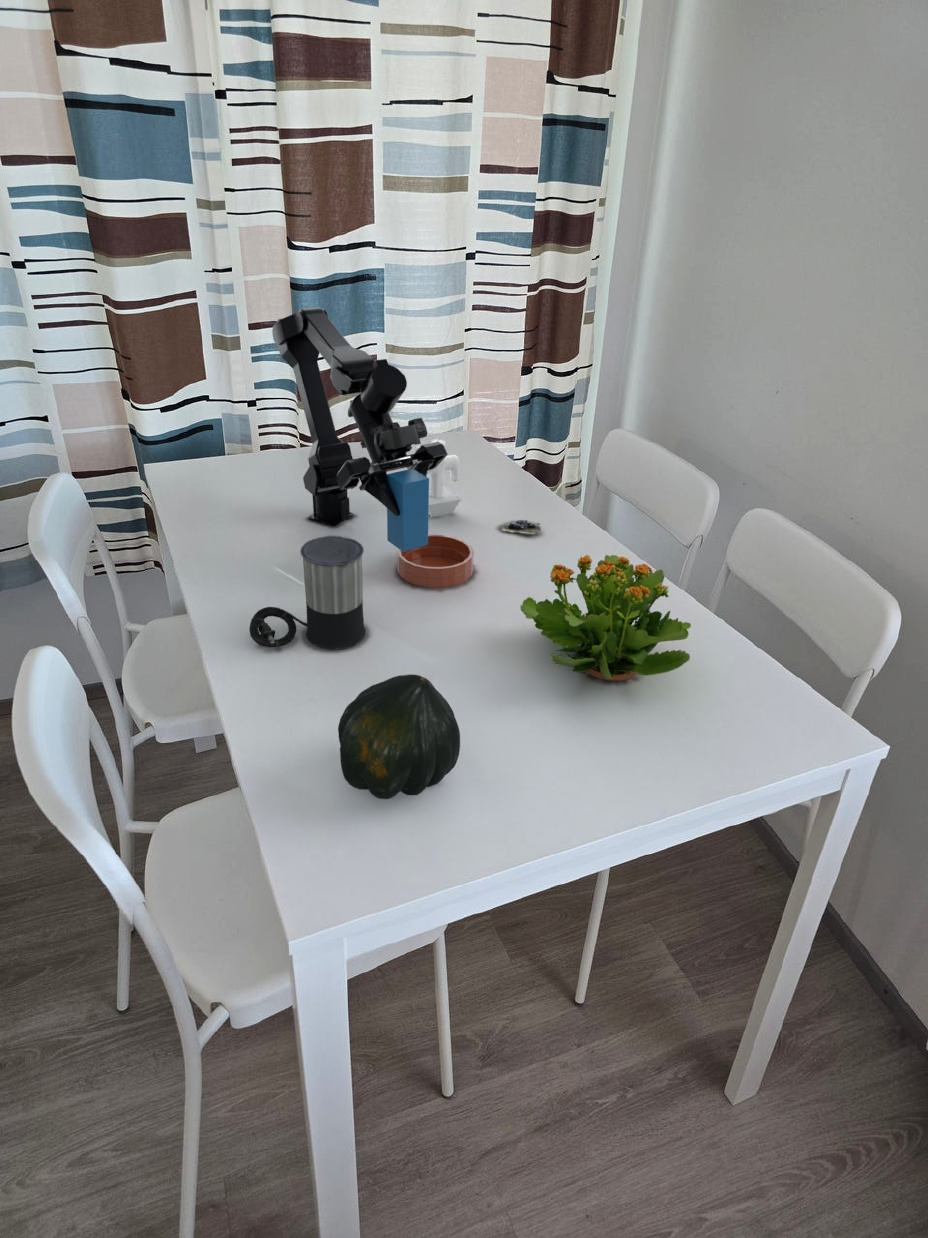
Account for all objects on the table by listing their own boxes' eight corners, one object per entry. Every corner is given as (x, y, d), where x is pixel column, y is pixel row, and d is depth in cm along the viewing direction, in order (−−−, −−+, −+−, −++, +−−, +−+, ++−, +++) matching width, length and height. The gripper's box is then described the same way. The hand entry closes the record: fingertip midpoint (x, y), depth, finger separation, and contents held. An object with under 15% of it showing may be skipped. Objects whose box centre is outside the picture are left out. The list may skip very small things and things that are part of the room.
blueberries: (542, 538, 165) (542, 529, 164) (500, 536, 165) (501, 527, 164) (540, 523, 171) (540, 514, 170) (499, 521, 170) (500, 513, 170)
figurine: (465, 515, 173) (468, 443, 165) (423, 522, 169) (424, 450, 161) (449, 502, 178) (451, 432, 170) (408, 509, 174) (408, 438, 167)
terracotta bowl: (382, 576, 149) (382, 556, 147) (423, 548, 159) (423, 528, 157) (448, 596, 144) (448, 575, 142) (485, 566, 154) (486, 546, 152)
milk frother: (378, 635, 133) (376, 549, 125) (296, 676, 123) (289, 585, 115) (320, 602, 141) (315, 519, 133) (239, 637, 131) (228, 550, 123)
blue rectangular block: (387, 540, 145) (386, 474, 139) (412, 533, 148) (412, 468, 142) (403, 552, 142) (403, 484, 136) (428, 545, 144) (429, 478, 138)
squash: (294, 742, 102) (360, 691, 92) (370, 685, 113) (436, 635, 103) (365, 838, 102) (440, 797, 92) (434, 771, 113) (507, 729, 103)
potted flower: (660, 618, 140) (677, 520, 131) (728, 703, 120) (753, 595, 111) (512, 631, 135) (520, 530, 126) (558, 723, 115) (571, 611, 106)
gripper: (342, 411, 131) (380, 503, 129) (442, 394, 140) (479, 479, 139) (320, 445, 140) (356, 531, 138) (416, 427, 150) (450, 507, 148)
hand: (412, 511), depth 141 cm, fingers closed on blue rectangular block, 5 cm apart
